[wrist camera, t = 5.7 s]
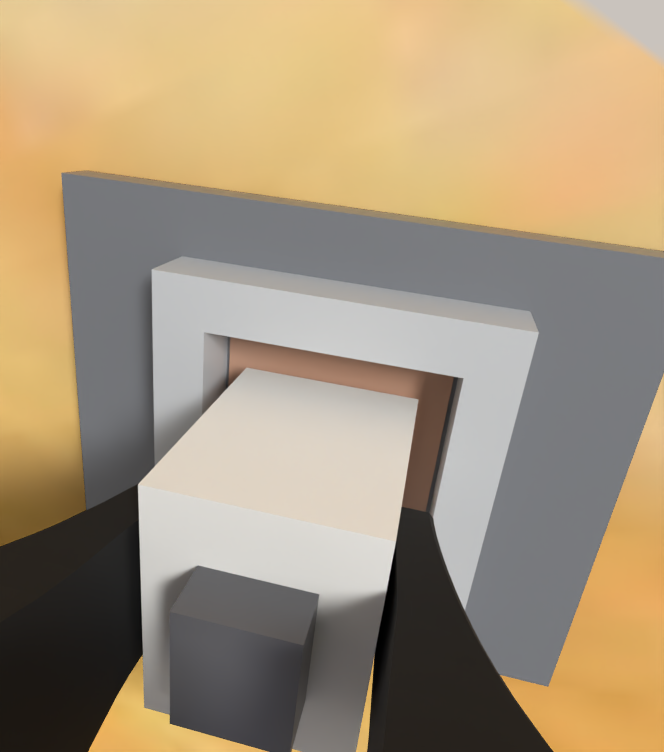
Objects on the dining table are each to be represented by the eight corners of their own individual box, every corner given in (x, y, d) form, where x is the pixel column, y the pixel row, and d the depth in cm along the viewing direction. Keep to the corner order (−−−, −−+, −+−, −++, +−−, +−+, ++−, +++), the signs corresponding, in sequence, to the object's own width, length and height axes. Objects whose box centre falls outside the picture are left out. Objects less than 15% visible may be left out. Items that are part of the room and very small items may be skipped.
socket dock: (543, 657, 17) (556, 736, 15) (108, 552, 19) (61, 608, 17) (685, 254, 12) (736, 280, 10) (86, 170, 14) (16, 176, 12)
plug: (385, 574, 15) (342, 825, 9) (237, 540, 15) (115, 759, 10) (418, 399, 13) (388, 590, 7) (246, 367, 13) (101, 523, 8)
